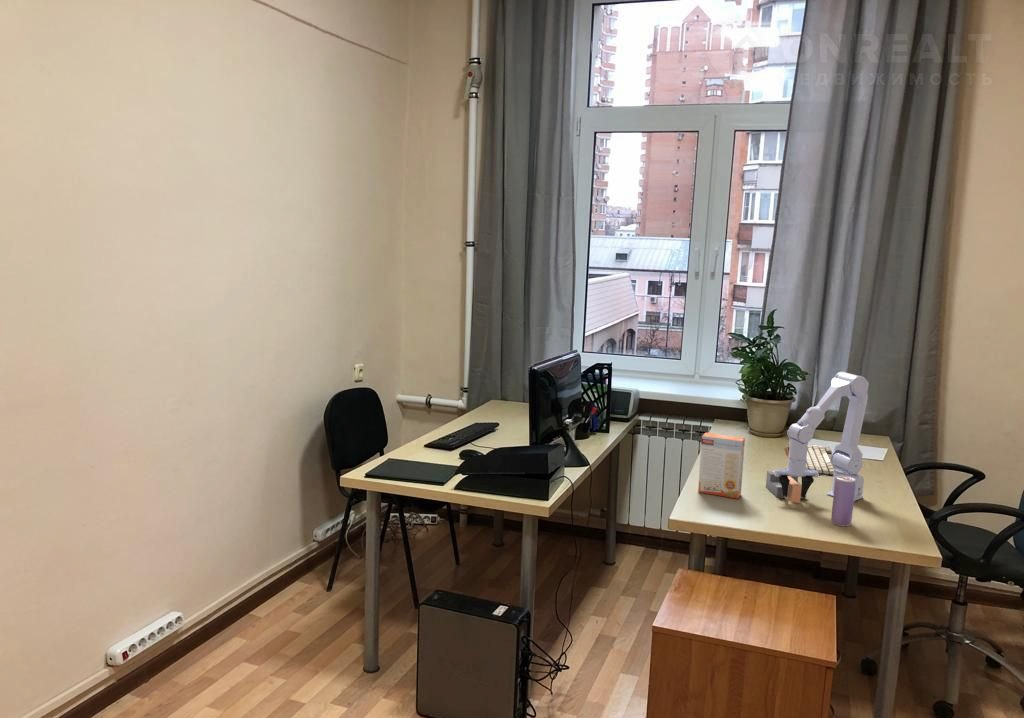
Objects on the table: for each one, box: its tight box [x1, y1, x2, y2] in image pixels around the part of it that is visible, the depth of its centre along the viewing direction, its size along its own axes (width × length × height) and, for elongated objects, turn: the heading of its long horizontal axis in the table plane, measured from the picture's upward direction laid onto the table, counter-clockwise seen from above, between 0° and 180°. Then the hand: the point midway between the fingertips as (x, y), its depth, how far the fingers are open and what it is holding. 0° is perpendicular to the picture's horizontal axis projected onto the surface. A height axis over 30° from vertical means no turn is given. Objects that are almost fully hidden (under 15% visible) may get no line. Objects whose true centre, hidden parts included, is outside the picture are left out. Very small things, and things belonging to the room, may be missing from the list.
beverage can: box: [830, 475, 856, 527], centre depth 238 cm, size 6×6×15 cm
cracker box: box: [697, 432, 746, 499], centre depth 262 cm, size 14×6×21 cm, turn 63°
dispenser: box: [765, 470, 804, 499], centre depth 266 cm, size 11×10×6 cm
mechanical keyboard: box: [783, 441, 834, 476], centre depth 306 cm, size 38×19×3 cm, turn 165°
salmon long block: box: [780, 476, 802, 503], centre depth 262 cm, size 11×3×6 cm, turn 1°
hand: (793, 496), depth 259 cm, fingers open, 6 cm apart
